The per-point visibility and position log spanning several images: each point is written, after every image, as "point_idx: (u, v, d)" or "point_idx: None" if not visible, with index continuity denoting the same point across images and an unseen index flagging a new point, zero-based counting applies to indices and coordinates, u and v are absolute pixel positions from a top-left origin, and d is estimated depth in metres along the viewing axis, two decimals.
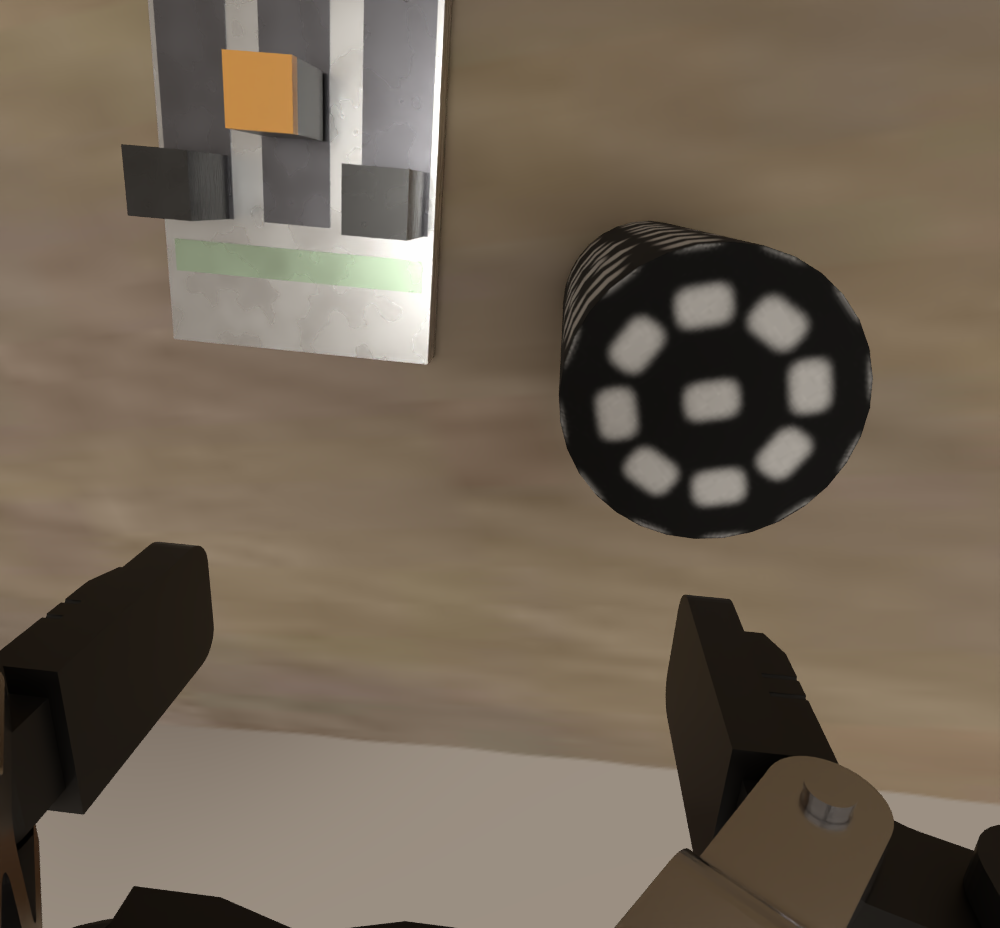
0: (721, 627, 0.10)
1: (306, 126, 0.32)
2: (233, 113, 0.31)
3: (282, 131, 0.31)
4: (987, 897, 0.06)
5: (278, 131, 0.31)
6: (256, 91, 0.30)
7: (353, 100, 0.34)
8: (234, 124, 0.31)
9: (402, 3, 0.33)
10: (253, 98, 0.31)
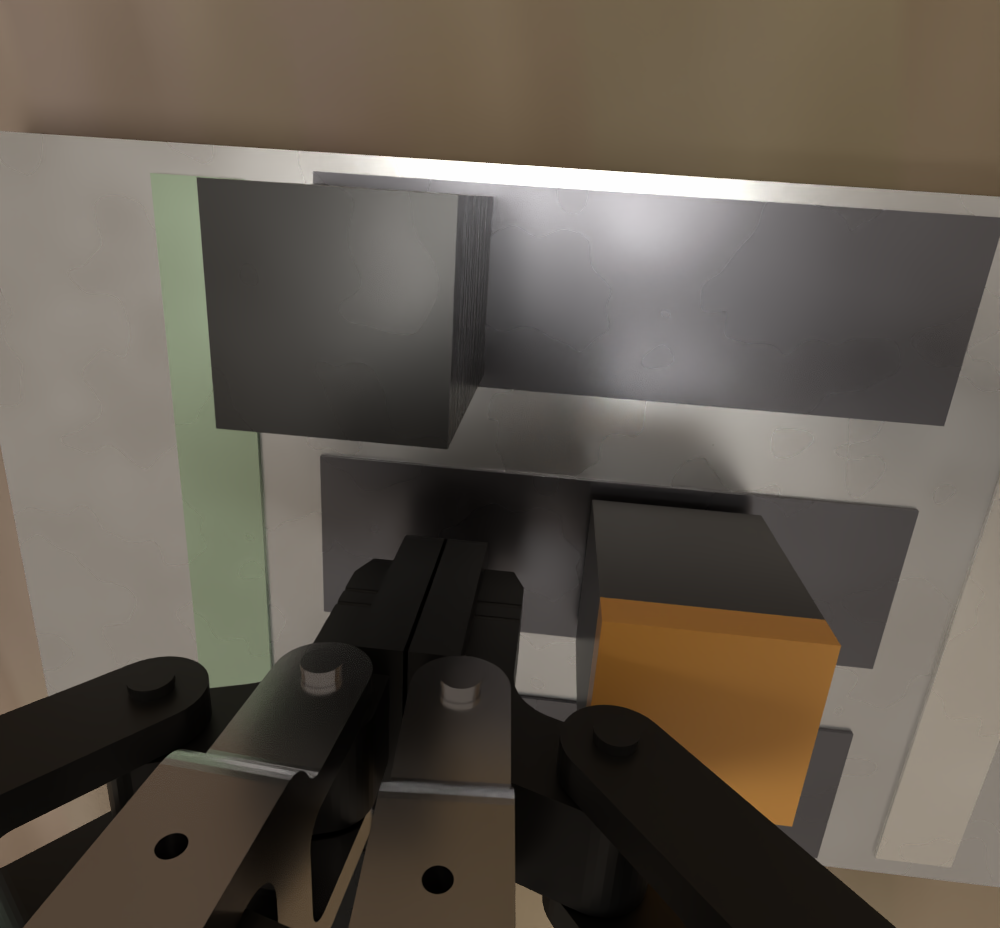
0: (463, 563, 0.12)
1: None
2: (644, 651, 0.09)
3: None
4: (580, 784, 0.07)
5: None
6: (703, 725, 0.10)
7: None
8: (612, 651, 0.09)
9: None
10: (684, 714, 0.10)
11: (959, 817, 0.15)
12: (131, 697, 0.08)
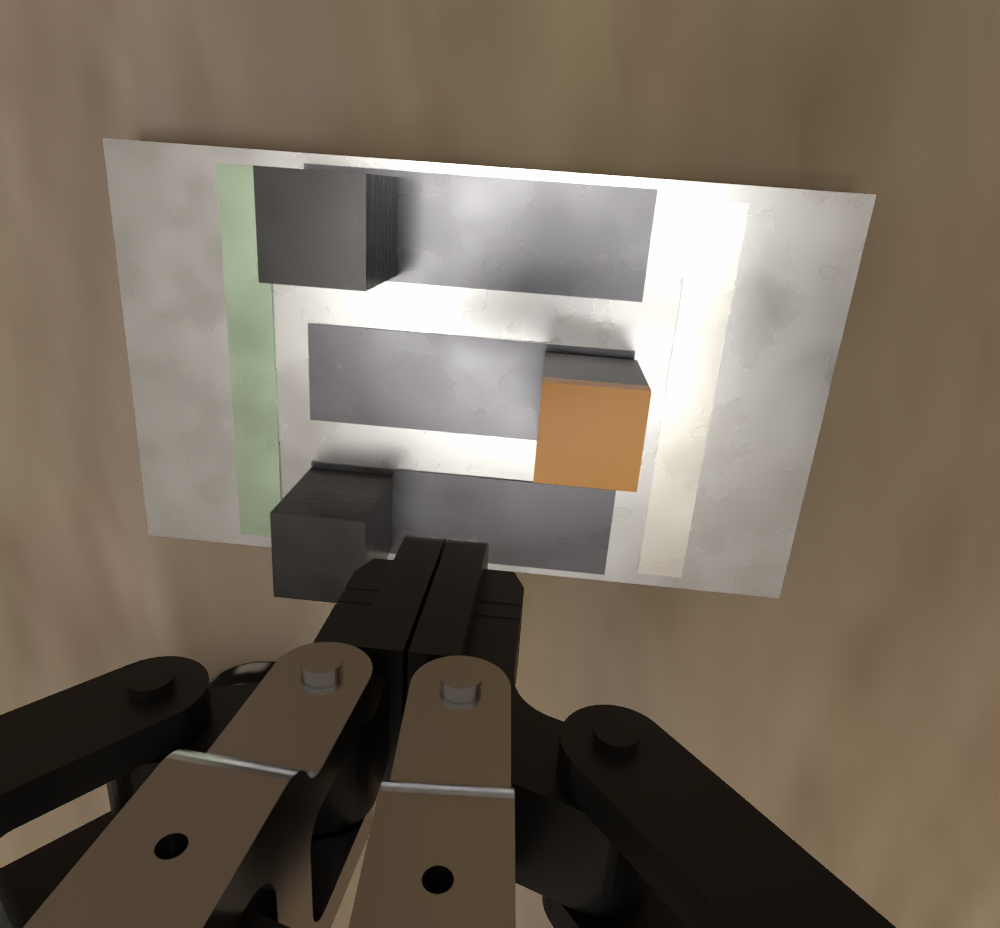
0: (463, 563, 0.12)
1: None
2: (562, 397, 0.20)
3: (536, 467, 0.21)
4: (581, 784, 0.07)
5: (536, 461, 0.21)
6: (591, 436, 0.20)
7: (474, 464, 0.26)
8: (547, 397, 0.20)
9: (583, 531, 0.26)
10: (582, 430, 0.20)
11: (681, 543, 0.26)
12: (131, 697, 0.08)
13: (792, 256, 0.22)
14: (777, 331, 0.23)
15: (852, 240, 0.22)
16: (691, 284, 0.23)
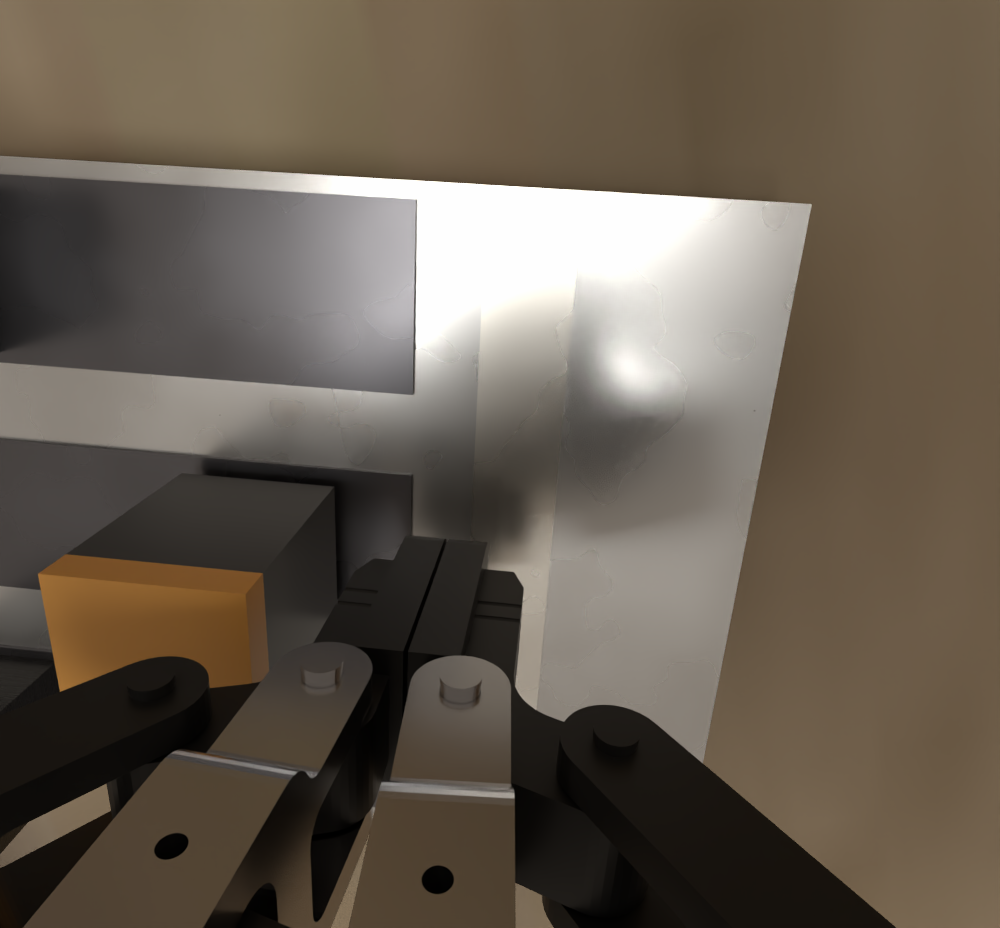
0: (463, 563, 0.12)
1: None
2: (82, 602, 0.10)
3: None
4: (580, 784, 0.07)
5: None
6: None
7: None
8: (55, 601, 0.10)
9: None
10: (134, 660, 0.10)
11: None
12: (131, 697, 0.08)
13: (666, 315, 0.12)
14: (650, 443, 0.13)
15: (772, 287, 0.12)
16: (492, 364, 0.13)
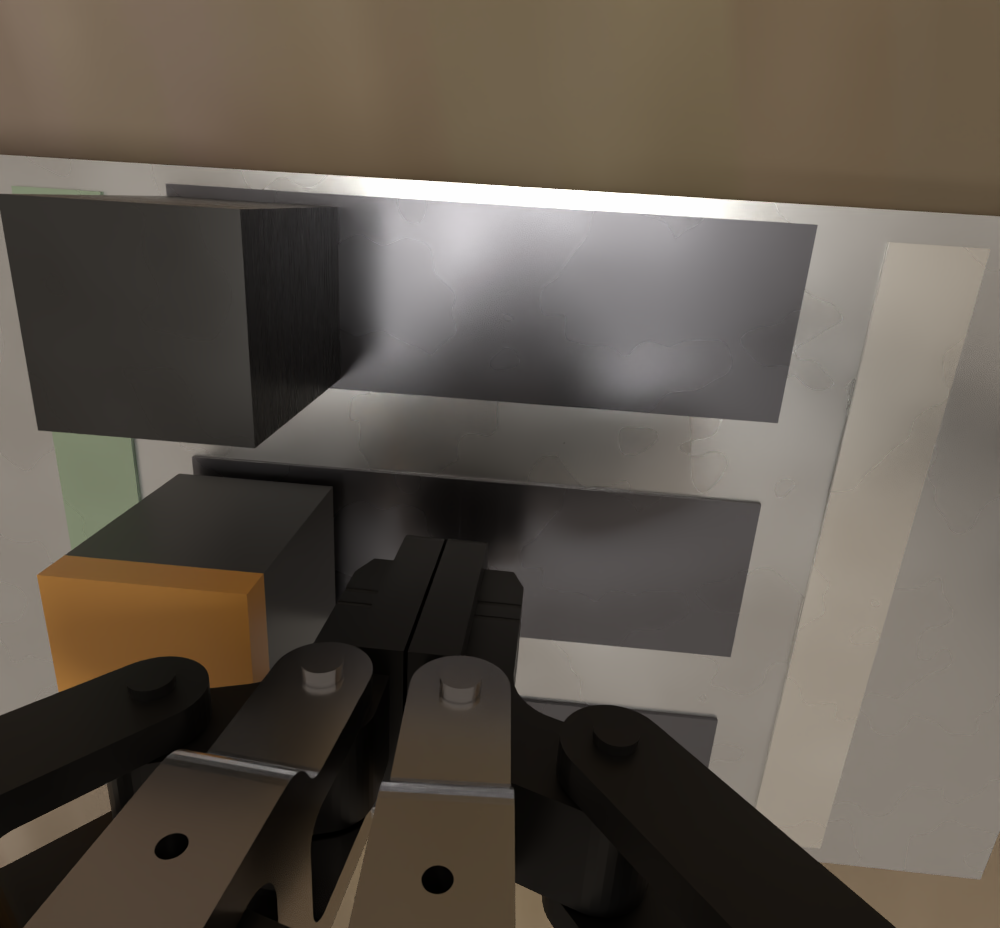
0: (463, 563, 0.12)
1: None
2: (82, 603, 0.10)
3: None
4: (580, 784, 0.07)
5: None
6: None
7: None
8: (54, 602, 0.10)
9: None
10: (134, 662, 0.10)
11: (824, 799, 0.16)
12: (131, 698, 0.08)
13: None
14: None
15: None
16: (869, 392, 0.13)
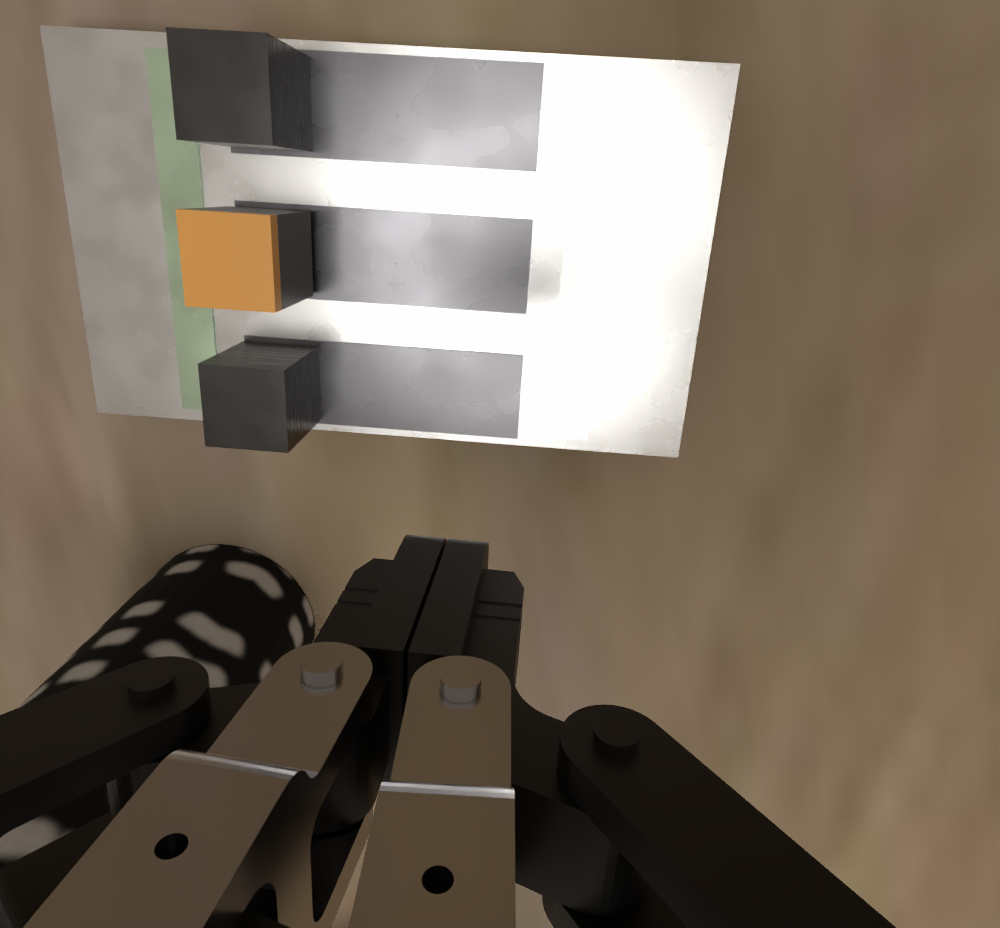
0: (463, 563, 0.12)
1: None
2: (195, 223, 0.23)
3: (185, 291, 0.23)
4: (580, 784, 0.07)
5: (184, 285, 0.23)
6: (226, 260, 0.23)
7: (393, 334, 0.28)
8: (182, 223, 0.23)
9: (496, 397, 0.29)
10: (218, 254, 0.23)
11: (585, 405, 0.28)
12: (131, 697, 0.08)
13: (669, 124, 0.25)
14: (660, 197, 0.26)
15: (721, 108, 0.24)
16: (579, 153, 0.25)
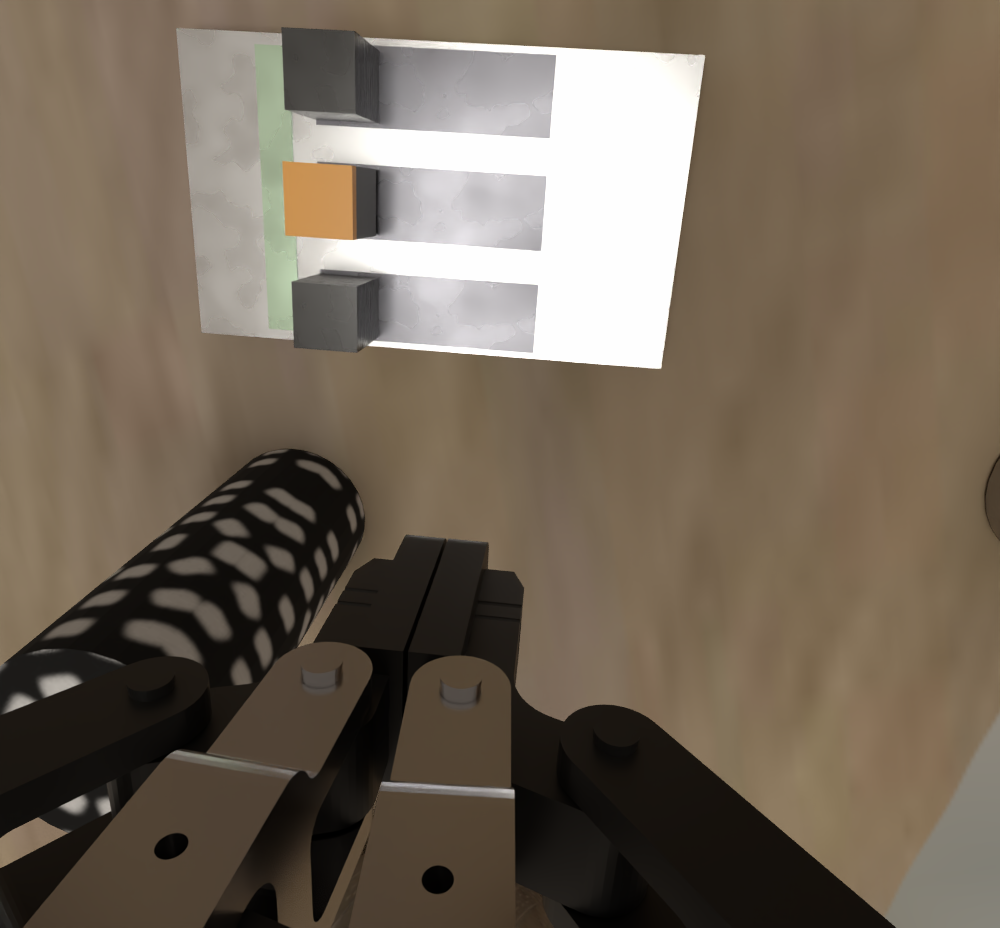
0: (463, 563, 0.12)
1: None
2: (296, 172, 0.30)
3: (286, 224, 0.31)
4: (580, 784, 0.07)
5: (285, 219, 0.31)
6: (318, 199, 0.31)
7: (436, 267, 0.36)
8: (286, 172, 0.30)
9: (517, 319, 0.36)
10: (312, 195, 0.31)
11: (587, 325, 0.36)
12: (131, 697, 0.08)
13: (651, 102, 0.32)
14: (645, 158, 0.33)
15: (691, 89, 0.32)
16: (582, 124, 0.33)
